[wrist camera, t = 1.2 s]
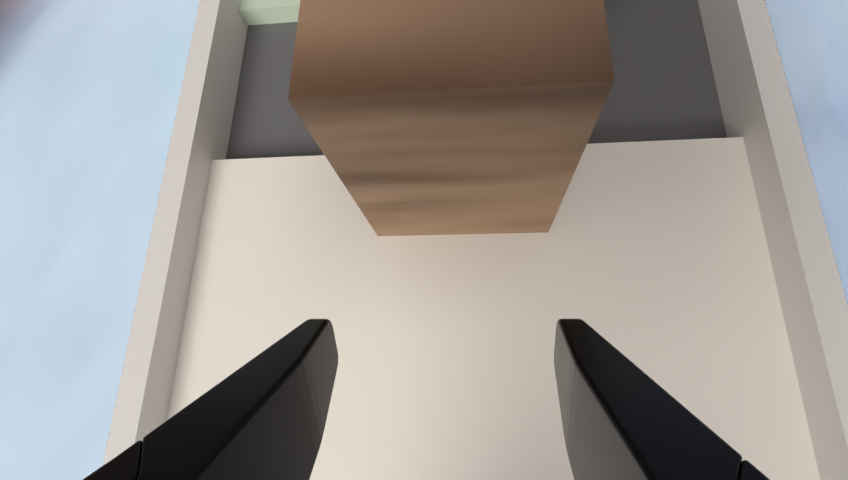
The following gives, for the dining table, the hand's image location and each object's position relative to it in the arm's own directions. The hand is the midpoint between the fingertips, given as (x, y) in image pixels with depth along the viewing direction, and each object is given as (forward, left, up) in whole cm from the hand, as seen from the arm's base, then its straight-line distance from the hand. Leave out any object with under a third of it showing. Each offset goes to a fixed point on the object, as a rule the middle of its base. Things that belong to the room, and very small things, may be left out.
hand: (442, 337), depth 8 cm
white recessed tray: (+10, -4, -14) cm, 17 cm away
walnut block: (+10, -4, -12) cm, 16 cm away
